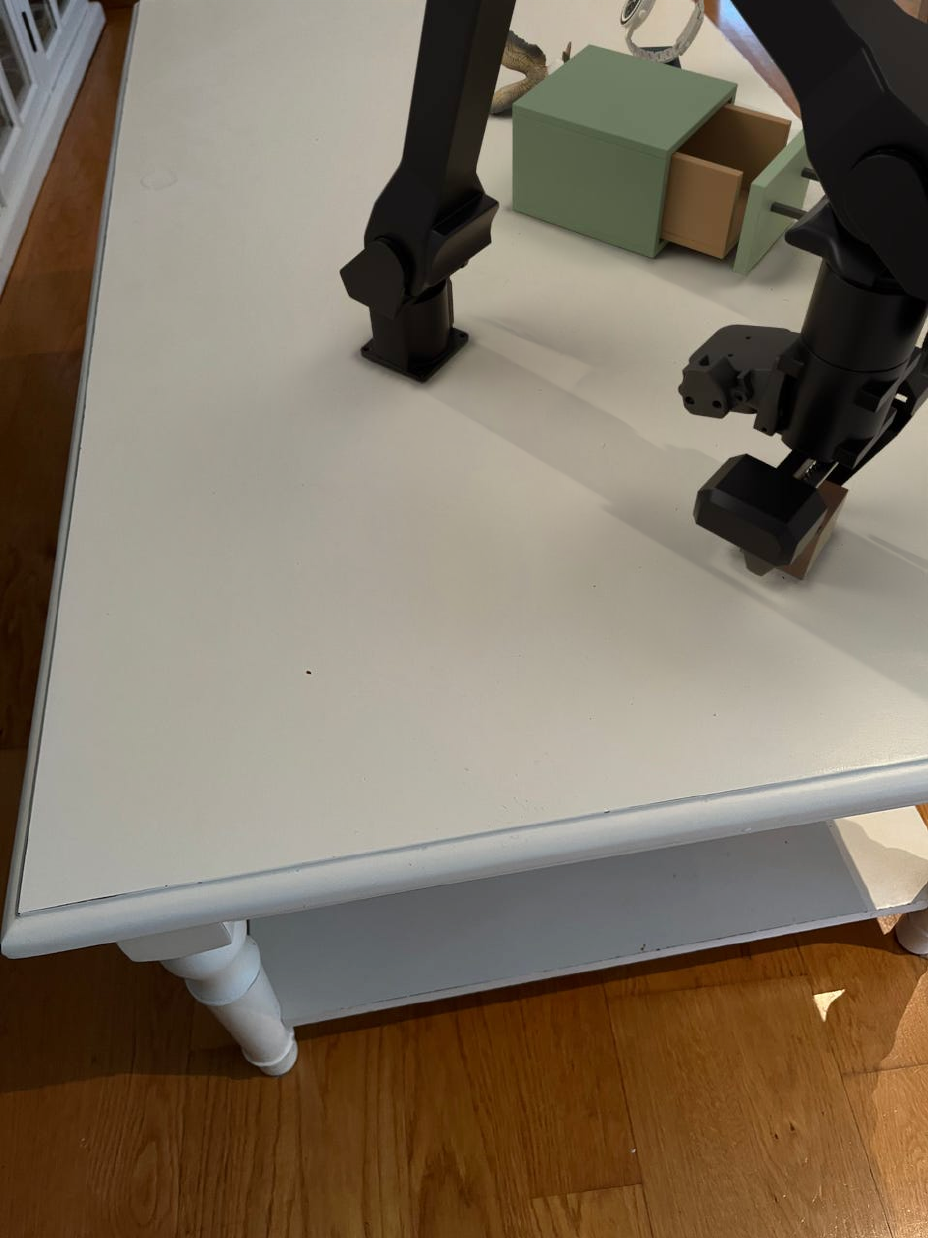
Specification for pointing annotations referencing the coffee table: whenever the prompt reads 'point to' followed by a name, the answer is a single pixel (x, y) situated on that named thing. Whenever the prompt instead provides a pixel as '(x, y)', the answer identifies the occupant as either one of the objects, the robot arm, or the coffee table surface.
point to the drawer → (736, 185)
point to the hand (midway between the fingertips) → (788, 532)
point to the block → (834, 501)
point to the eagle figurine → (524, 70)
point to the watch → (633, 17)
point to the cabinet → (607, 143)
